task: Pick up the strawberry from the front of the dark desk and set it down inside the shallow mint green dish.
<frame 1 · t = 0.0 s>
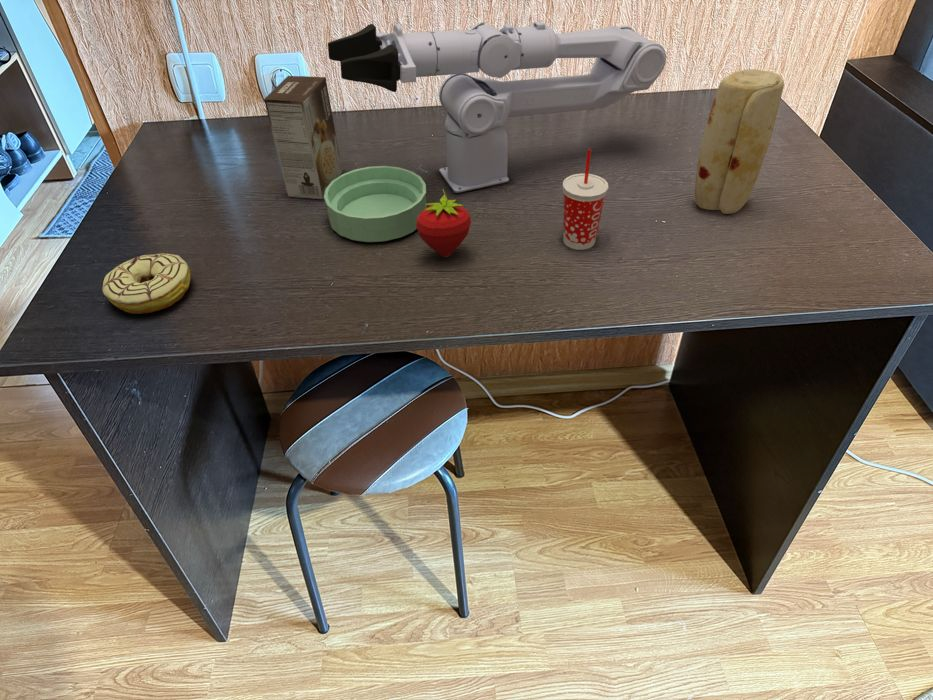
hand: (334, 60, 87), 22 cm above the table, tool horizontal, fingers open, 7 cm apart
food model: (718, 207, 99), on the table
decorated donut: (153, 294, 87), on the table
beverage cup: (578, 241, 94), on the table
coffee box: (316, 185, 107), on the table
mint green dish: (378, 216, 99), on the table
strawberry: (445, 256, 92), on the table
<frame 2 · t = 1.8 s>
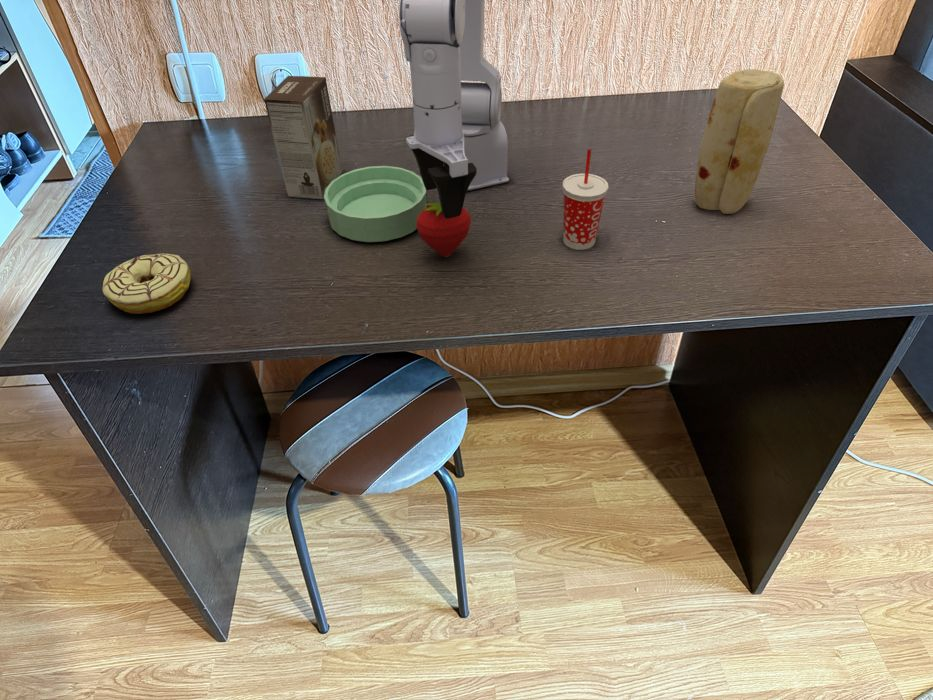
hand: (442, 201, 85), 9 cm above the table, tool pointing down, fingers open, 7 cm apart
nothing on the table moved.
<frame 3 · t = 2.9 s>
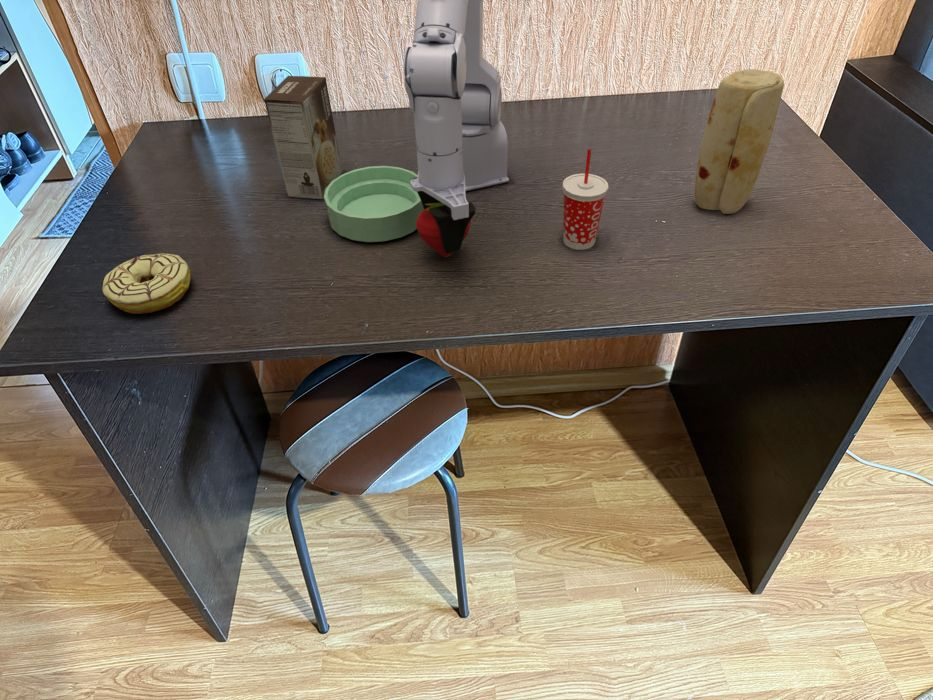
hand: (444, 238, 89), 3 cm above the table, tool pointing down, fingers closed on strawberry, 6 cm apart
strawberry: (445, 256, 92), on the table, touching gripper
everything else where it was.
when the fingers open (3 cm above the table, at t = 7.7 s): strawberry stays where it is, resting on mint green dish.
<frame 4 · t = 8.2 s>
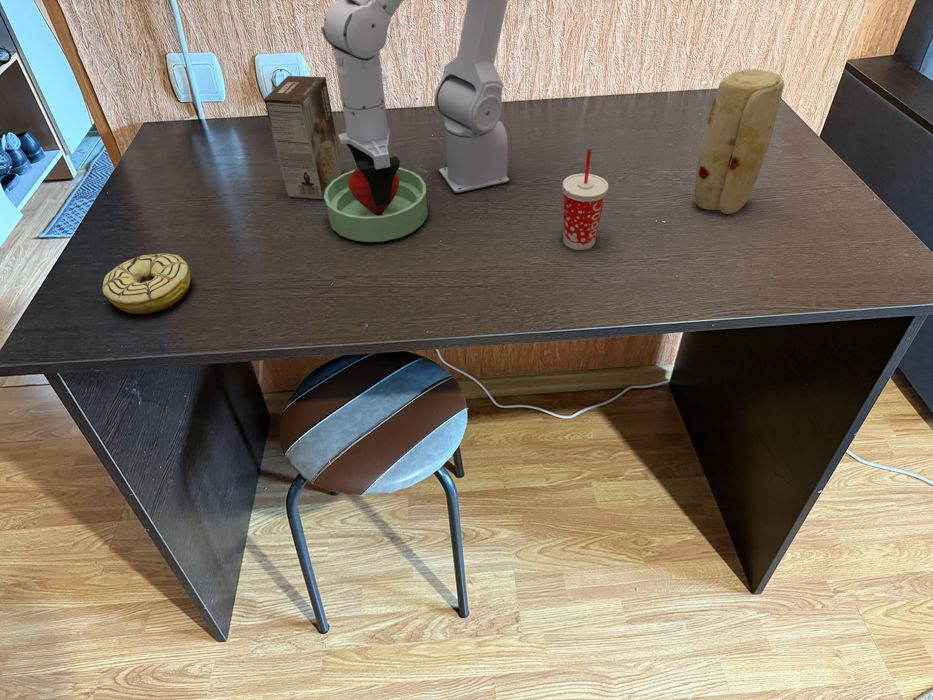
hand: (375, 191, 96), 4 cm above the table, tool pointing down, fingers open, 7 cm apart
strawberry: (378, 215, 99), resting on mint green dish
everything else where it was.
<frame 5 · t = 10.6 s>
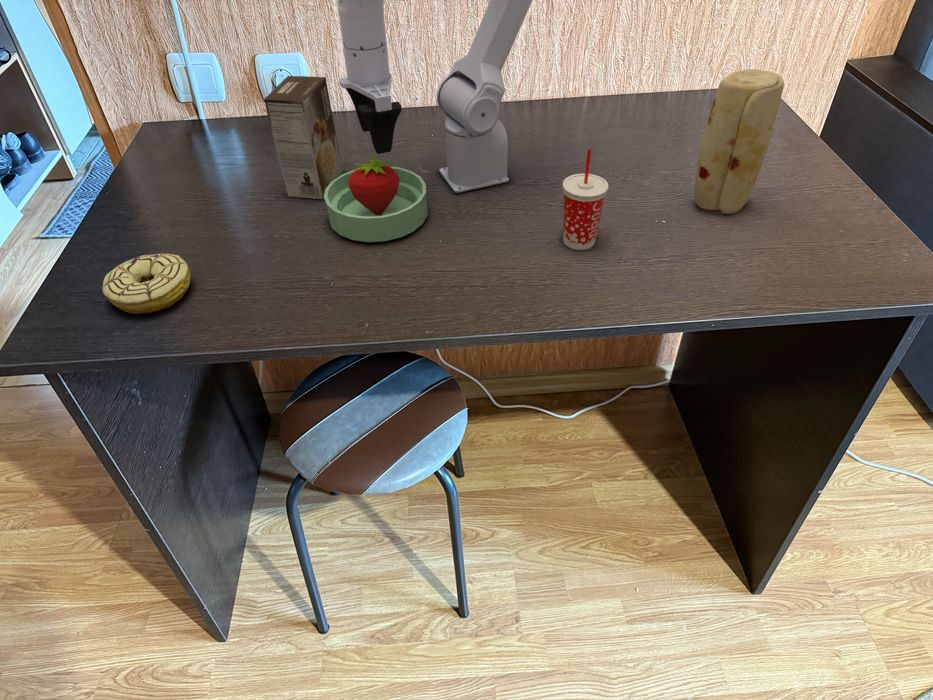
hand: (376, 140, 95), 10 cm above the table, tool pointing down, fingers open, 7 cm apart
nothing on the table moved.
at the end: strawberry inside the target area in the mint green dish (0.1 cm from its centre), point 0.3 cm above the mint green dish's base; the gripper is holding nothing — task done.
